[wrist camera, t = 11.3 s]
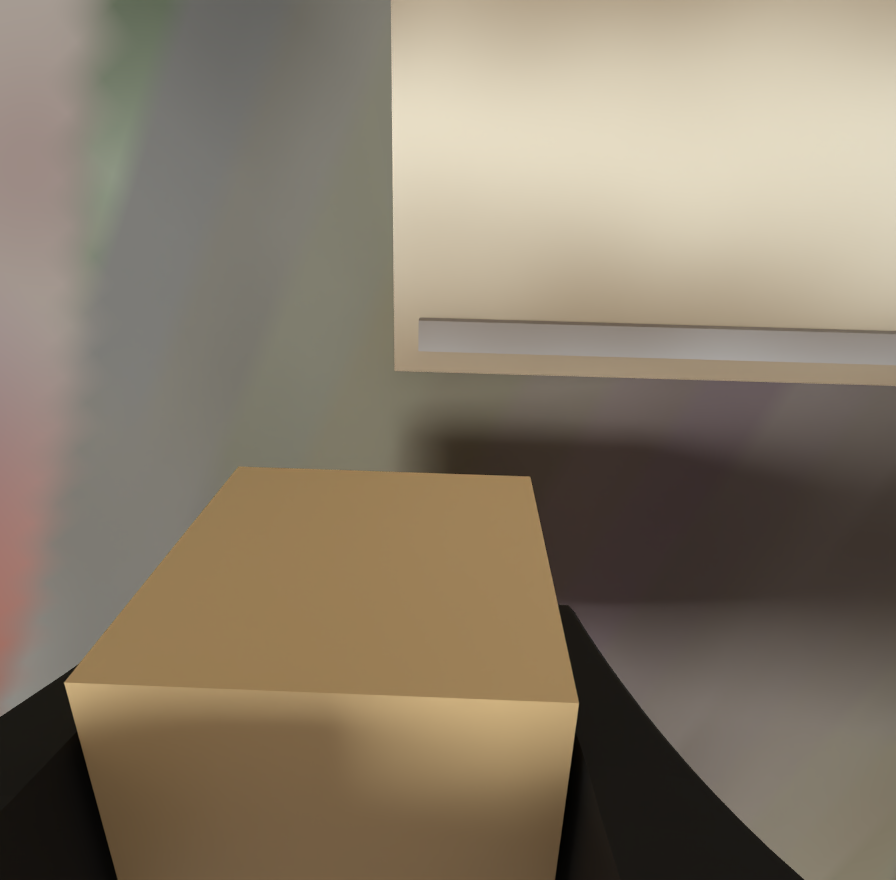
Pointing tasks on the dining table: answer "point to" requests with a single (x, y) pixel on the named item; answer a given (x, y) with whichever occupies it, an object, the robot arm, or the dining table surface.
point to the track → (646, 188)
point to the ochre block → (337, 687)
